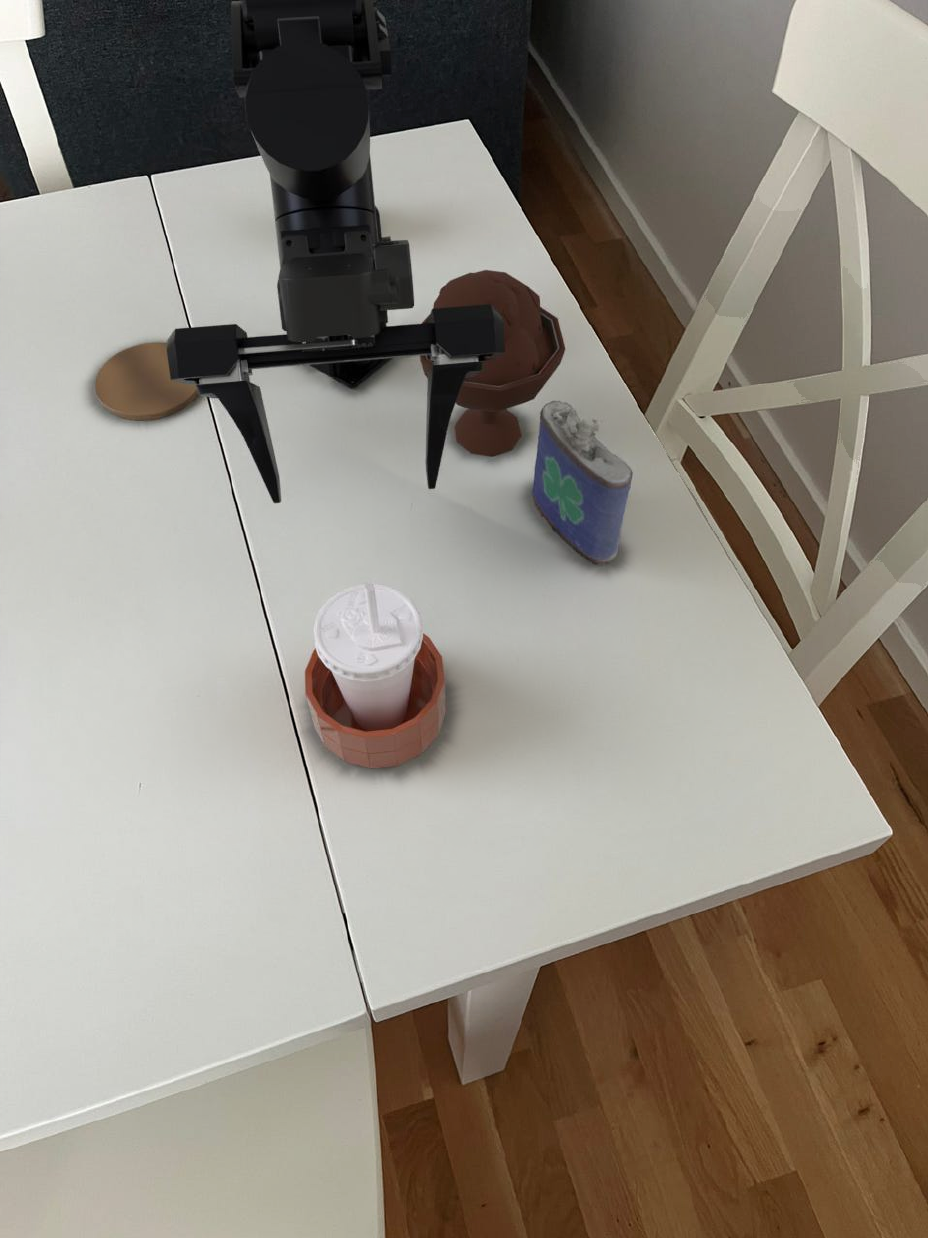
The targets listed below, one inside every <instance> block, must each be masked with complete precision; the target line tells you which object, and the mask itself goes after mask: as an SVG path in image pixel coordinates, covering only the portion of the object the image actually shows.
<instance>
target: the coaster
mask: <svg viewBox="0 0 928 1238" xmlns="http://www.w3.org/2000/svg"><path fill="white" fill-rule="evenodd" d="M94 392H95V395H96V397H97V399H98V402H99V403H100V404H101V406H102V407H103V409H105V410H106V411H108V412H109V413H110V414H112V415H114V416H117V417H119V418H123V419H126V420H131V421H132V420H133V421H150V420H156V419H161V418H164V417H168V416H171V415H173V414H176V413H177V412H179V411H182V410H183V409H184V408H186V407H188V406H189V405H190V404H191V403H192V402H194V400H195V399H196V398H197V397H198V395H199V394H198V392H197V388H196V385H186V384H183V383H179V382H176V381H173V380H171V379H170V372H169V364H168V357H167V342H163V341H162V342H161V341H159V342H158V341H156V342H154V341H153V342H144V343H141V344H136V345H133V346H130V347H128V348H124V349H123V350H120V351H119V352H117V353H115V354H114V355H113V356H111V357H110V358H109V359H107V360H106V362H105V363H104V364H103V365H102V366H101V367H100V368H99V370H98V372H97V374H96V376H95V380H94Z"/></svg>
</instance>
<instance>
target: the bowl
mask: <svg viewBox="0 0 928 1238" xmlns="http://www.w3.org/2000/svg"><path fill="white" fill-rule="evenodd" d="M445 676H446V675H445V669H444V661H443V657H442V654H441V653H440V652H439V650H438V648H437V647H436V645H435V644H434V643H433V641H432V639H431V637H429V636H428V635H427V634H425V633H424V632H423V639H422V643H421V648H420V650H419V652H418V653H417V655H416V657H415V660H414V667H413V674H412V680H411V687H410V694H409V701H408V708H407V713H406V716H405V718H404V720H403V721H402V722H401V724H400V725H398V726H397V727H395V728H393V729H387V730H378V731H366V730H364V729H363V728H361V727H360V726H359V725H358V724H357V723H356V722H355V720H354V718H353V716H352V714H351V712H350V710H349V708H348V705H347V703H346V701H345V699H344V697H343V695H342V693H341V690H340V688H339V686H338V684H337V682H336V680H335V678H334V676H333V673H332V672H331V670H330V669H329V668H327V667H326V666H325V664H324V663H323V662H322V660H321V659H320V658H319V656H318V653H317V650H316V647H314V649H313V651H312V654H311V655H310V658H309V660H308V663H307V665H306V667H305V670H304V687H305V689H304V690H305V698H306V702H307V704H308V709H309V712H310V716H311V719H312V723H313V727H314V729H315V730H316V733H317V734H318V736H319V739H320V741H321V743H322V744H323V746H325V748H326V749H327V750H328V751H330V752H331V753H332V754H334V755H335V756H336V757H338V758H340V759H341V760H342V761H343V762H346V763H349V764H352V765H356V766H360V767H365V768H368V769H380V768H387V767H397V766H400V765H402V764H404V763H406V762H408V761H410V760H412V759H413V758H415V757H417V756H419V755H422V754H423V753H424V752H425V751H426V749H428V748H429V746H430V745H431V744H432V743H433V741H435V739H436V738H438V736H439V734H440V732H441V729H442V725H443V722H444V719H445V716H446V712H447V700H446V677H445Z"/></svg>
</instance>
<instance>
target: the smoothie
mask: <svg viewBox="0 0 928 1238" xmlns="http://www.w3.org/2000/svg"><path fill="white" fill-rule="evenodd" d="M423 633H424V631H423V624H422V619H421V615H420V611H419V610H418V607H417V606H416V604H415V603H414V601H412V600H411V598H410V597H408V596H407V595H406V594H405V593H403V592H402V591H400V590H399V589H396V588H394V587H391V586H388V585H385V584H376V583H373V582H371V581H368V582H365V583H364V584H356V585H353V586H349V587H347V588H345V589H342V590H340V591H338V592H337V593H335V594H334V595H333V596H331V597H330V598H328V599H327V601H326V602H325V603H324V604H323V605H322V607H321V608H320V609H319V611H318V613H317V615H316V616H315V620H314V625H313V638H314V648H316V650H317V653H318V656H319V658H320V659H321V660H322V662H323V663H324V664H325V666H326V667H327V668H329V669H330V670H331V672H332V673H333V676H334V678H335V680H336V682H337V684H338V686H339V688H340V690H341V693H342V695H343V697H344V699H345V701H346V703H347V705H348V708H349V710H350V712H351V714H352V716H353V718H354V720H355V722H356V723H357V724H358V725H359V726H360V727H361V728H363V729H364V730H366V731H378V730H387V729H393V728H395V727H397V726H398V725H400V724H401V722H402V721H403V720H404V718H405V716H406V713H407V708H408V701H409V694H410V687H411V680H412V674H413V667H414V660H415V657H416V655H417V653H418V652H419V650H420V648H421V643H422V639H423Z"/></svg>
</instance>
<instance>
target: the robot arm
mask: <svg viewBox="0 0 928 1238" xmlns="http://www.w3.org/2000/svg"><path fill="white" fill-rule="evenodd" d="M230 17H231V18H230V20H231V24H230V25H231V63H232V64H231V66H232V67H231V69H232V78H233V84H234V87H235V91H236V92H237V95H238V98H244V113H245V116H246V120H247V124H248V128H249V130H250V132H251V135H252V138H253V140H254V143H255V145H256V146H257V149H258V152H259V154H260V157H261V160H262V162H263V163H264V166H265V167H266V169H267V171H268V173H269V179H270V180H269V181H270V187H271V188H270V189H271V198H272V207H273V215H274V224H275V232H276V241H277V250H278V259H279V267H280V268H279V273H278V278H277V283H276V289H277V299H278V306H279V314H280V324H281V329H282V330H283V332H286V334H275V335H272V334H271V335H261V336H249V337H248V333H247V332H246V330H244V329H243V328H242V327H241V326H239V324H237V323H230V324H219V325H218V324H217V325H216V324H215V325H206V326H205V325H204V326H192V327H191V326H190V327H180V328H174V330H173V331H172V333H171V334H170V336H169V337H168V339H167V340H166V343H167V357H168V364H169V372H170V379H171V380H173V381H176V382H179V383H183V384H186V385H196V388H197V392H198V395H199V396H202V397H206V398H209V399H218V401H219V402H220V403H221V405H222V406H223V408H224V409H225V410H226V412H227V413H228V415H229V416H230V418H231V419H232V422H233V423H234V424H235V426H236V428H237V429H238V431H239V433H240V434H241V436H242V438H243V440H244V441H245V444H246V446H247V448H248V450H249V452H250V455H251V457H252V459H253V461H254V464H255V466H256V469H257V470H258V473H259V475H260V476H261V477H260V478H261V479H262V482H263V483H264V486H265V488H266V490H267V492H268V494H269V497H270V498H271V499H270V500H271V501H272V502H273V504H280V503H281V502H282V491H281V490H282V489H281V479H280V473H279V472H280V471H279V468H278V463H277V460H276V459H277V458H276V455H275V451H274V445H273V441H272V436H271V432H270V428H269V422H268V418H267V414H266V408H265V404H264V400H263V399H264V398H263V395H262V391H261V390H262V389H261V386H259V385H257V384H255V383H253V382H251V379H250V376H253V370H261V369H272V368H285V367H296V366H297V367H298V366H299V367H300V366H310V367H312V368H313V369H315V370H317V371H319V372H320V373H321V374H324V375H325V376H327V377H329V378H331V379H333V380H334V381H336V382H337V383H340V384H341V385H343V386H345V387H347V388H349V389H356V388H358V387H359V386H360V385H362V383H364V382H365V381H367V379H369V378H370V377H371V376H373V375H374V374H375V373H376V372H377V371H378V370H379V369H381V368H382V367H383V366H384V365H386V364H387V363H388V362H389V361H391V360H392V359H394V358H408V357H418V356H419V357H420V356H421V355H430V361H432V360H433V361H434V365H433V366H432V367H431V369H430V370H429V372H428V379H427V382H426V383H427V384H426V385H427V386H426V387H427V390H426V422H425V424H426V426H425V427H426V428H425V460H424V461H425V472H426V484H427V488H428V490H435V489H436V487H437V483H438V482H437V481H438V476H439V472H440V468H441V463H442V458H443V454H444V449H445V448H444V447H445V443H446V439H447V434H448V430H449V426H450V425H449V424H450V420H451V418H452V414H453V411H454V408H455V405H456V400H457V397H458V394H459V391H460V389H461V386H462V384H463V381H464V379H465V378H468V377H475V376H476V375H478V374H479V373H481V372H482V371H483V362H484V361H491V360H496V359H497V358H498V357H500V356H501V355H503V354H504V353H505V340H504V327H503V320H502V315H501V313H500V312H499V311H498V310H497V309H496V308H495V307H494V306H493V305H492V304H484V305H471V306H458V307H445V308H433V307H432V308H431V311H430V313H429V315H430V316H429V315H428V316H429V323H423V324H421V323H412V324H411V323H409V324H400V325H387V324H388V323H389V315H388V311H396V310H409V309H414V307H415V293H414V280H413V269H412V268H413V267H412V258H411V248H410V242H409V239H399V240H398V239H397V240H392V239H391V236H382V227H381V217H380V215H381V214H380V211H379V209H378V207H377V205H376V203H375V192H374V191H375V190H374V181H373V172H372V159H371V123H370V102H369V95H368V90H379V89H380V90H381V89H383V76H389V75H393V72H392V71H393V70H392V54H391V46H390V40H389V34H388V28H387V22H386V18H385V16H384V15H383V14H382V13H381V12H380V11H379V10H378V8H377V1H376V0H239V1H231V2H230Z"/></svg>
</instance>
